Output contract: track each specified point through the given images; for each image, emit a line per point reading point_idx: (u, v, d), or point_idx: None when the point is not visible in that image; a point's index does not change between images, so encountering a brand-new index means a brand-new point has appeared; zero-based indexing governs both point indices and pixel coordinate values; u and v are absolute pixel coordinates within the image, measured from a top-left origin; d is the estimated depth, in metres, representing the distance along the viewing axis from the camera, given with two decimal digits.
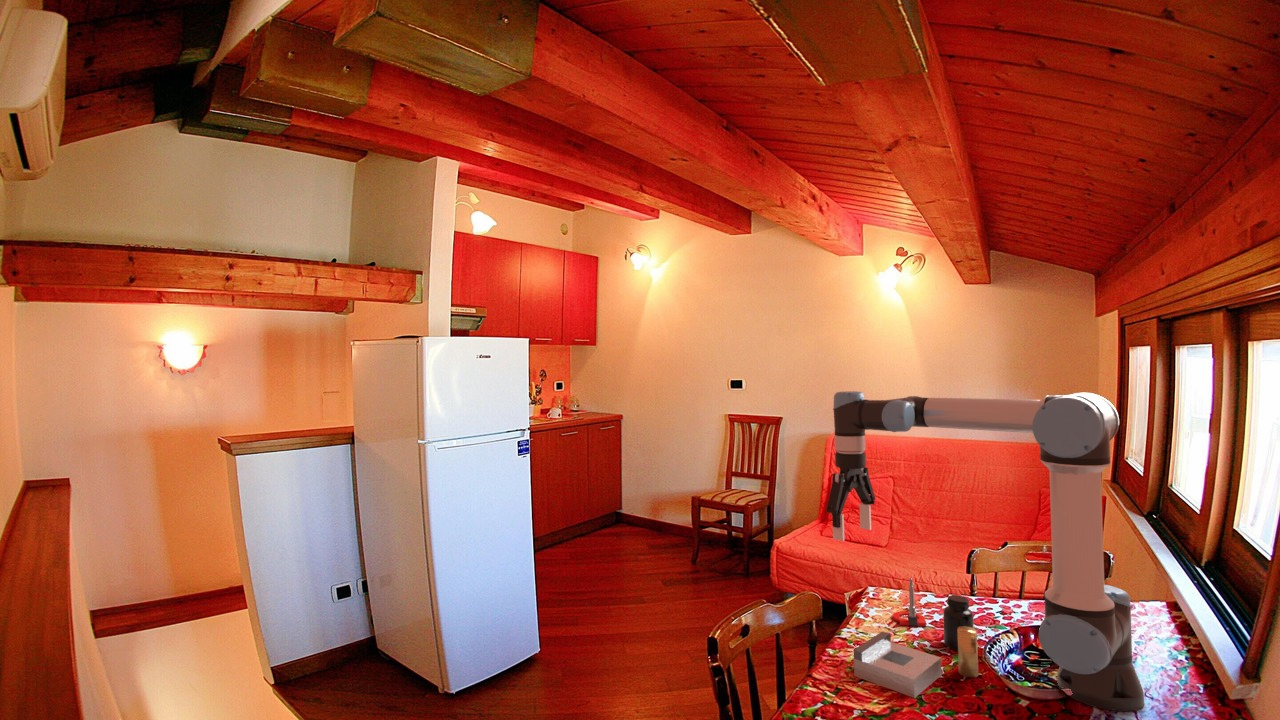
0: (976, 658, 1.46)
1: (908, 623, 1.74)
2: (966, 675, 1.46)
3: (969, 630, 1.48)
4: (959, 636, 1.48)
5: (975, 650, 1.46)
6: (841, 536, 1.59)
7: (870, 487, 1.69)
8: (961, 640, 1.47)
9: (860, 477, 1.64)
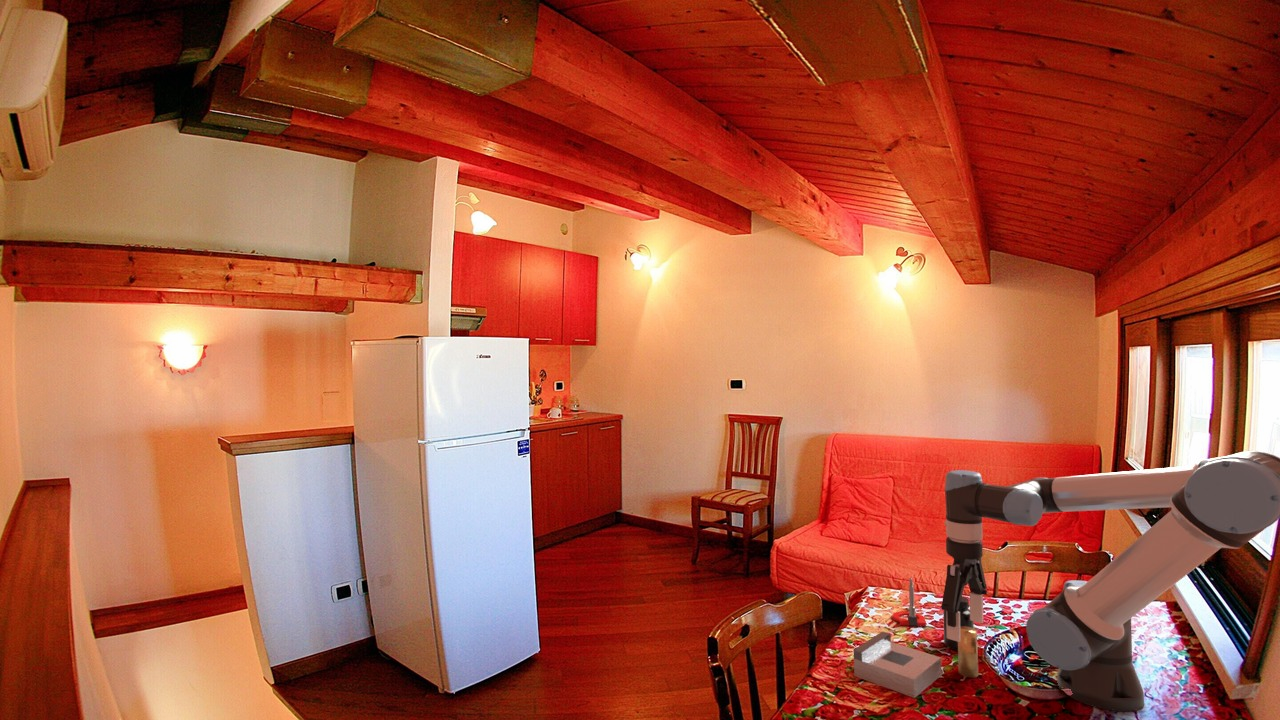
0: (976, 658, 1.46)
1: (908, 623, 1.74)
2: (966, 675, 1.46)
3: (969, 630, 1.48)
4: None
5: (975, 650, 1.46)
6: (957, 636, 1.43)
7: (982, 575, 1.52)
8: (961, 640, 1.47)
9: (975, 567, 1.47)
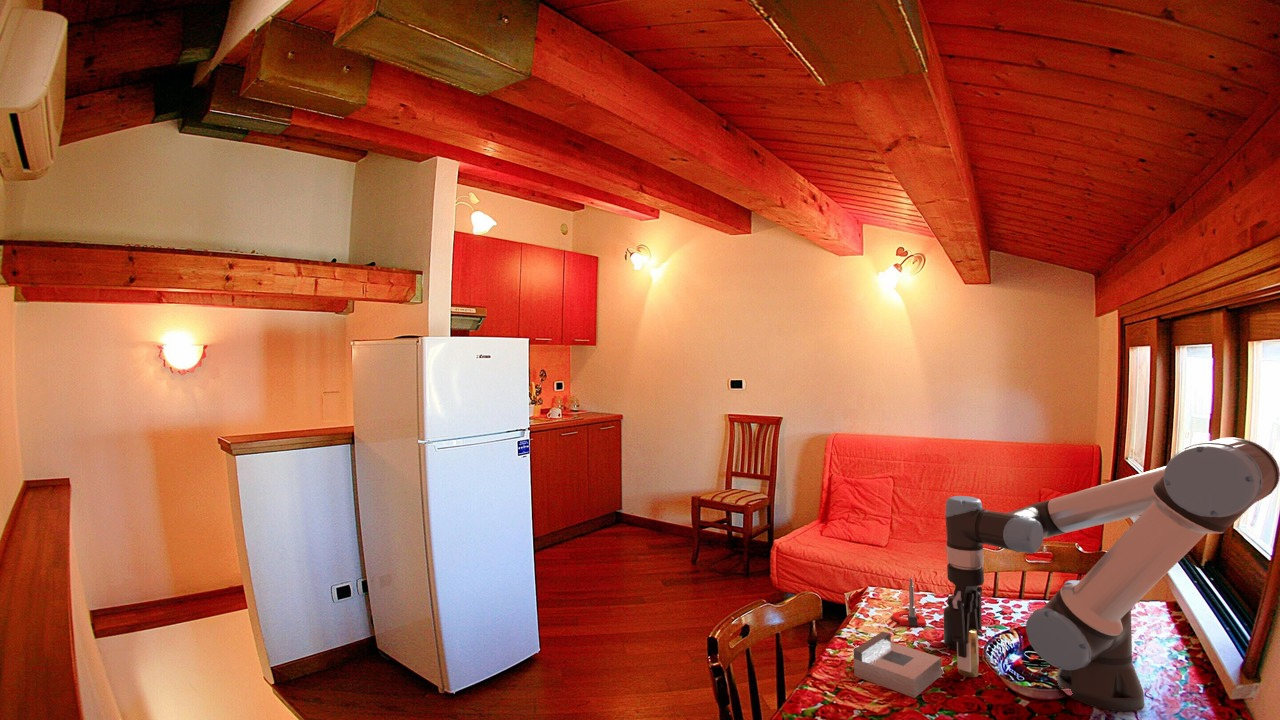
0: (976, 658, 1.46)
1: (908, 623, 1.74)
2: (966, 675, 1.46)
3: (969, 630, 1.47)
4: None
5: (975, 650, 1.46)
6: (968, 667, 1.45)
7: (980, 612, 1.50)
8: None
9: (976, 594, 1.47)
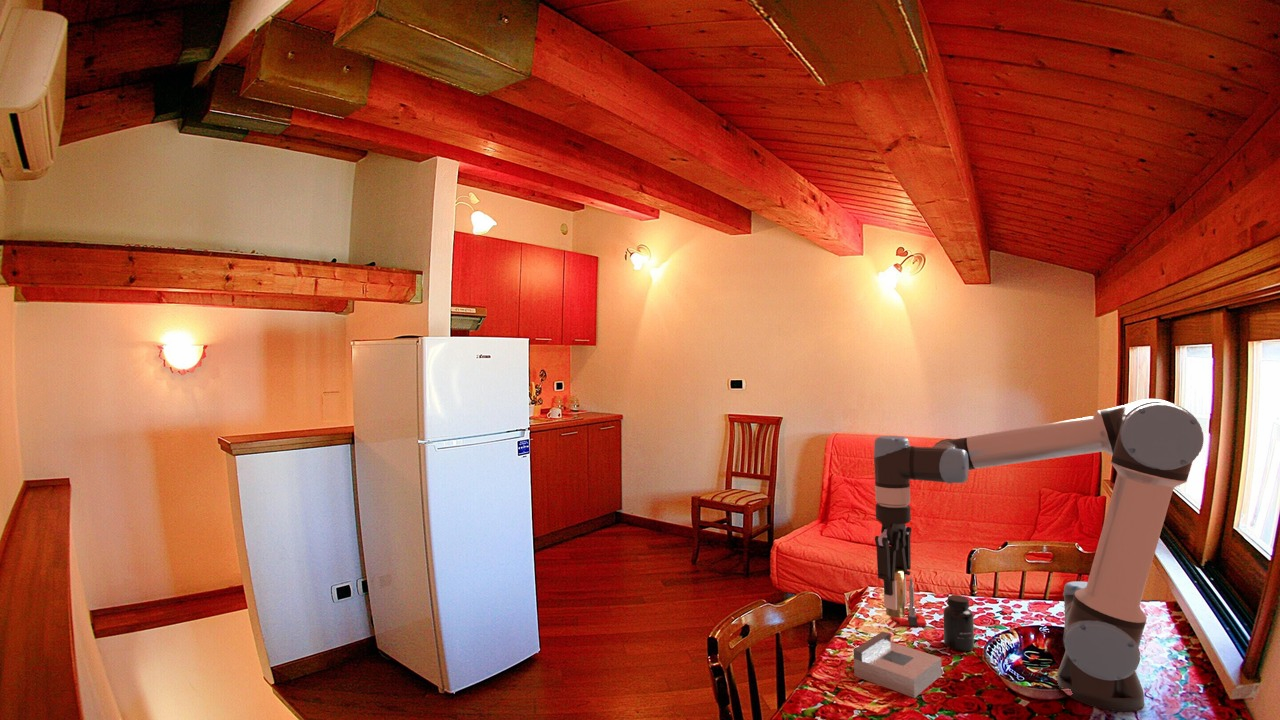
0: (902, 598, 1.46)
1: (908, 623, 1.74)
2: (892, 615, 1.46)
3: (896, 571, 1.48)
4: None
5: (901, 590, 1.46)
6: (894, 605, 1.45)
7: (909, 552, 1.50)
8: None
9: (904, 532, 1.47)
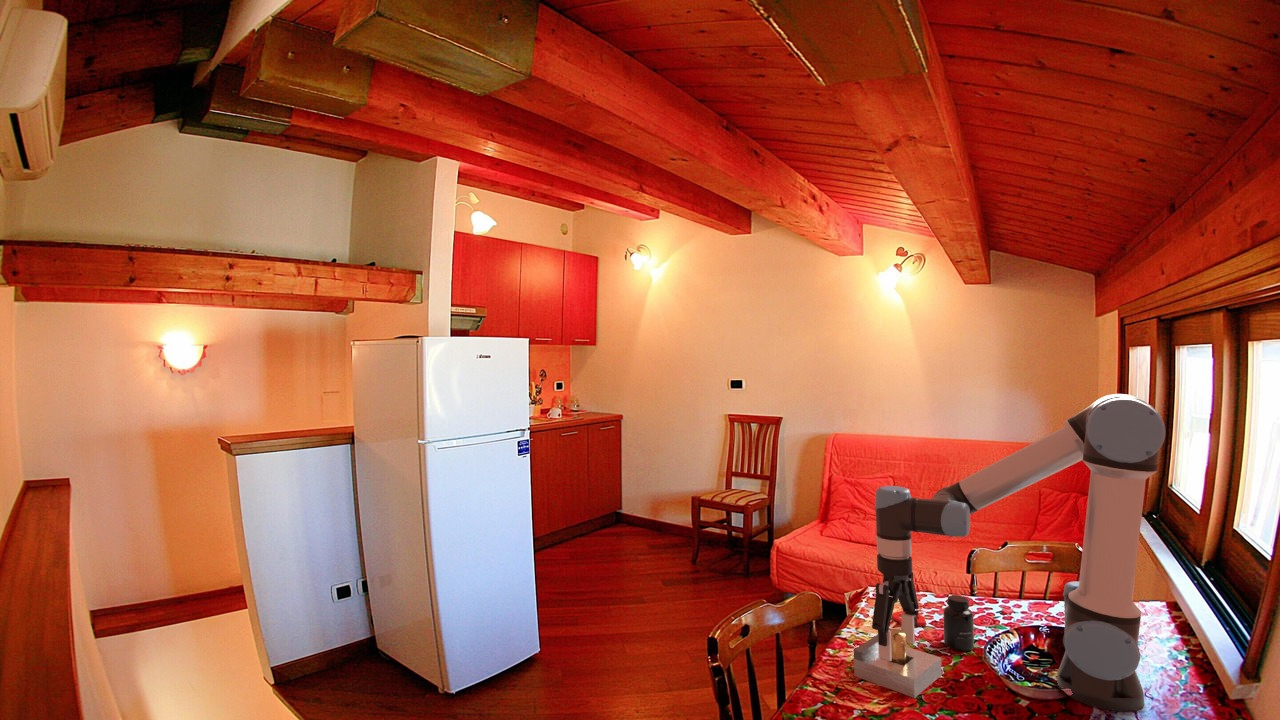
0: (904, 660, 1.46)
1: None
2: None
3: (898, 632, 1.47)
4: None
5: (903, 652, 1.46)
6: (888, 655, 1.43)
7: (914, 594, 1.52)
8: None
9: (905, 584, 1.47)
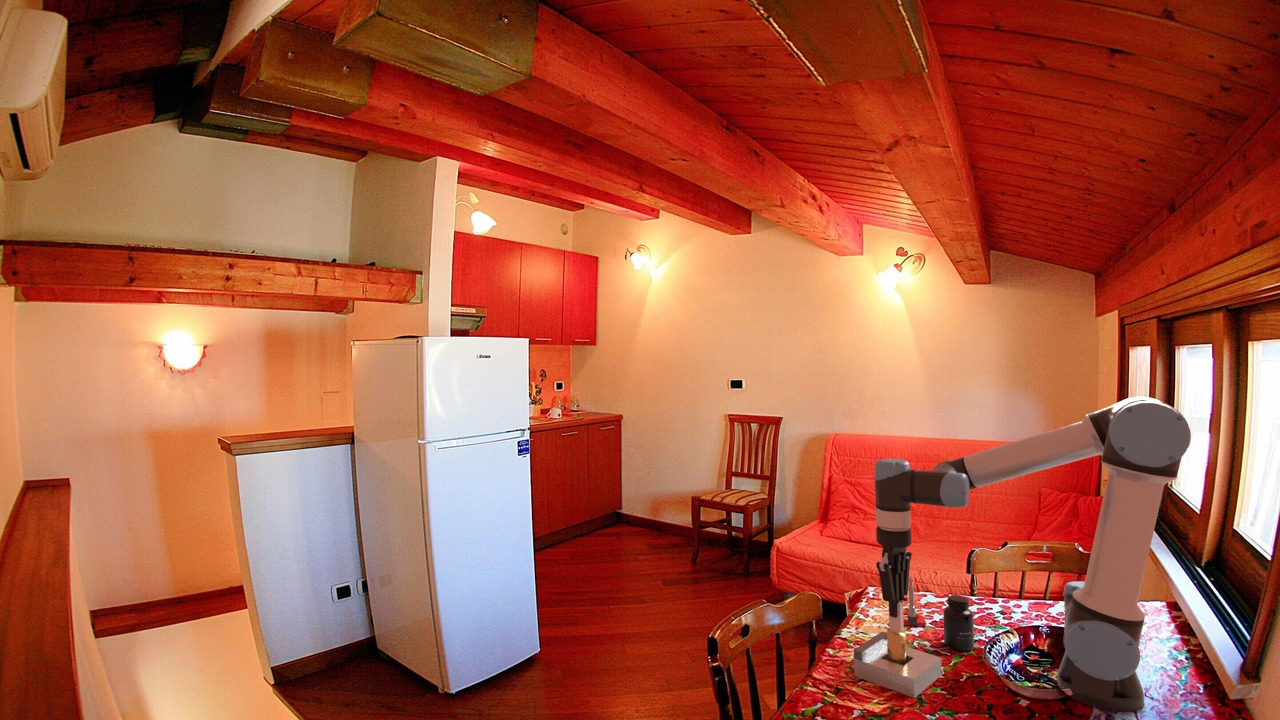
0: (904, 660, 1.46)
1: (908, 623, 1.74)
2: None
3: (898, 632, 1.47)
4: (888, 638, 1.47)
5: (903, 652, 1.46)
6: (899, 626, 1.47)
7: (907, 577, 1.50)
8: (890, 642, 1.47)
9: (904, 556, 1.47)
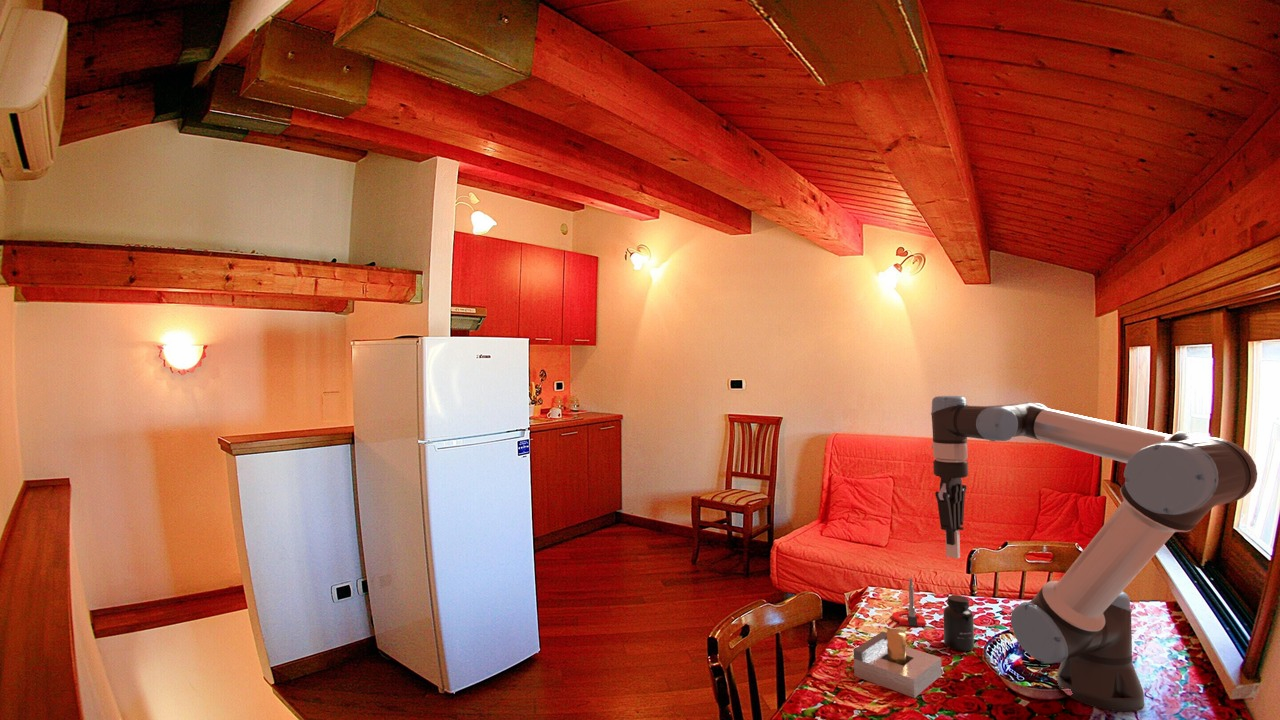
0: (904, 660, 1.46)
1: (908, 623, 1.74)
2: None
3: (898, 632, 1.47)
4: (888, 638, 1.47)
5: (903, 652, 1.46)
6: (956, 554, 1.54)
7: (962, 508, 1.57)
8: (890, 642, 1.47)
9: (961, 487, 1.55)
